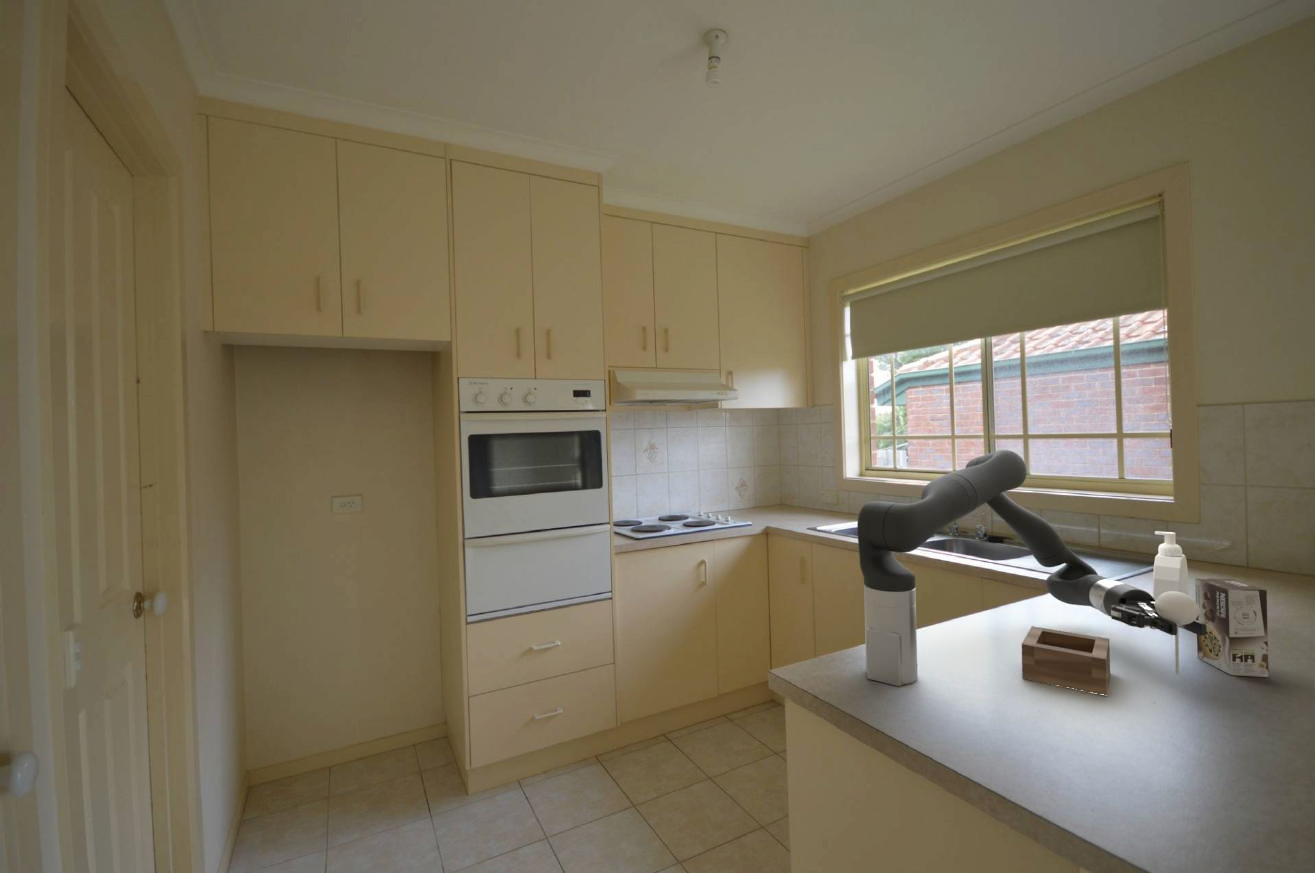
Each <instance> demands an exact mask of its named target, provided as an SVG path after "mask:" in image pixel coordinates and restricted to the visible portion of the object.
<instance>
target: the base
mask: <svg viewBox="0 0 1315 873" xmlns="http://www.w3.org/2000/svg"><path fill="white" fill-rule="evenodd" d="M1110 643H1111V642H1110V638H1108V637H1107V638H1106V637H1099V636H1095V635H1087V634H1082V633H1076V632H1068V631H1065V630H1057V629H1051V628H1045V627H1038V626H1033V625H1031V627H1030V628H1029V630H1028V631H1027V633H1026V635H1025V638H1024V639H1023V641H1022V642H1021V667H1022V668H1021V671H1022V672H1021V676H1022V678H1024V679H1023V680H1026V679H1029V680H1028V681H1031V680H1033V681H1032V682H1035V681H1039V682H1038V683H1040V682H1043V683H1042V684H1045V683H1049V684H1053V685H1052V686H1054V685H1059V686H1062V687H1061V688H1063V687H1069V688H1074V689H1077V690H1083V691H1086V692H1085V693H1087V692H1093V693H1097V694H1104V695H1107V696H1108V691H1109V690H1108V689H1109V684H1108V683H1110V678H1111V651H1110V650H1111V648H1110ZM1109 677H1110V678H1109ZM1049 684H1048V685H1049ZM1059 686H1058V687H1059ZM1077 690H1076V691H1077ZM1107 690H1108V691H1107Z"/></svg>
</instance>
